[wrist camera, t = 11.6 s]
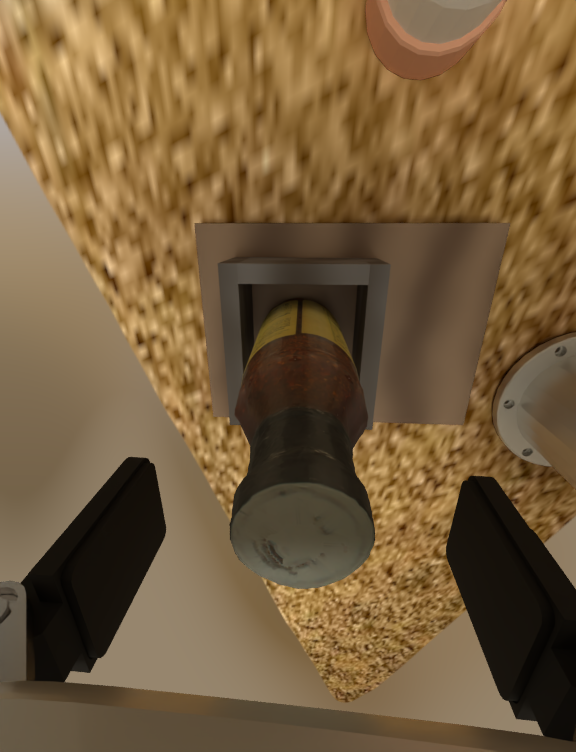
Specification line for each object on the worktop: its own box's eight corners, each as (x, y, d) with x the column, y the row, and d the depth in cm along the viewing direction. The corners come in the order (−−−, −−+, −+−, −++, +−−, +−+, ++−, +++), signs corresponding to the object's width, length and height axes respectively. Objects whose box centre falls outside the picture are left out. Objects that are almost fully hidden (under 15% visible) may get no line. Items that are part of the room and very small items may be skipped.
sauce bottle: (262, 368, 29) (176, 609, 11) (261, 292, 26) (148, 441, 8) (340, 371, 29) (388, 627, 10) (347, 296, 26) (427, 457, 8)
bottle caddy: (499, 223, 25) (558, 221, 19) (456, 416, 31) (490, 460, 25) (200, 223, 26) (167, 221, 20) (217, 408, 32) (196, 449, 26)
